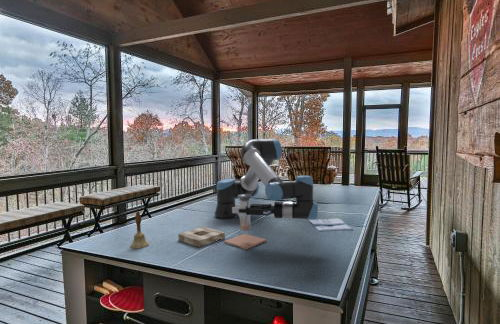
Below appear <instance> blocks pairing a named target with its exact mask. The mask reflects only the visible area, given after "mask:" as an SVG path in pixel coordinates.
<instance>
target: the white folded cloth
mask: <svg viewBox="0 0 500 324" xmlns="http://www.w3.org/2000/svg"><path fill="white" fill-rule="evenodd" d="M308 222H310V223H311V224H312V225H313V227H315V228H316V230H318V231H319V232H327V231H329V232H330V231H332V232H333V231H334V232H335V231H353V228H352V227H351V226H349V225H348V224H346V222H345V221H343V220H342V219H340V218H338V217H335V218H322V219H320V218H319V219H308Z"/></svg>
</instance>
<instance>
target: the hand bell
mask: <svg viewBox="0 0 500 324" xmlns="http://www.w3.org/2000/svg"><path fill="white" fill-rule="evenodd" d="M134 220H135V224H136V233H135V234H134V235H133V240H132V243H131V244H130V246H129V247H130V248H131V249H143V248H145V247H148V246H149V245H150V243H149V241H147V239H146V237H145V233H144V232H142V231H141V230H142V228H141V223H142V216H141V213H140V211H136V212H135V217H134Z"/></svg>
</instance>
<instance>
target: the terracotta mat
mask: <svg viewBox="0 0 500 324" xmlns="http://www.w3.org/2000/svg"><path fill="white" fill-rule="evenodd" d="M263 242H264V243H266V242H267V239H266V238H262V237H258V236H254V235H252V234H246V233H243V234H240V235H237V236H235V237H232V238H230V239H226V240H224V242H223V243H224V244H226V243H228V244H227V245H229V244H232V245H235V246H234V247H236V246H238V247H237V248H239V247H241V248H240V249H242V248H244V249H243V250H245V249H247V250H249V249H248V248H250V247H252V248H254V247H256V245H257V246H259V245H260V243H261V244H264V243H263ZM258 244H259V245H258ZM232 245H231V246H232ZM253 246H254V247H253ZM250 249H251V248H250Z"/></svg>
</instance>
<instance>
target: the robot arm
mask: <svg viewBox="0 0 500 324" xmlns="http://www.w3.org/2000/svg"><path fill="white" fill-rule="evenodd" d="M282 156H283V148H282V144H281V142H280V141H279V140H278V139H276V138H275V139H274V138H262V139H261V138H260V139H256V138H255V139H254V138H253V139H250V140H247V141H246V142H245V143H244V144H243V146H242V147H241V149H240V157H241V160H242V161H243V162H244V164H245V165H247V166H249V169H248V170H247V172H246V174H244V175H243V176H242V177H241V178H240V180H235V178H227V179H225V178H224V179H222V180H219V181H217V183H216V208H215V211H214V217H215V216H216V217H220V218H219V219H223V218H226V219H231V218H230V217H234V218H236V217H235V216H237V217H238V216H239V214H240V213H245V214H246V215H250V216H266V217H267V216H269V215H272V214H273V217H274V219H283V218H284V219H288V220H292V219H298V220H317V218H318V216H319V211H318V210H319V209H318V208H319V205H318V202H315V201H314V178H313V177H312V176H311V175H297V176H296V177H295V180H292V181H291V180H289V181H283V180H282V179H281V177H280V176H279V175H278V173H276V171H275V170H273V168H272V166H271V165H272V164H273V162H274V161H279V160H281V158H282ZM259 181H261V183H262V184H263V185H264V187H265V188H264V194H265V196H266V198H267V200H269V201H275V202H274V204H273V205H272V204H271V203H267V204H266V203H250V208H247V206H246V207H239V204H236V199H238V200H239V198H238V195H240V194H250V195H251V198H254V197H257V195H258V193H259V188H260V187H259V186H260V185H259ZM288 199H295V200H296V201H284V202H283V200H288ZM281 200H282V201H281ZM216 217H215V218H216Z"/></svg>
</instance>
